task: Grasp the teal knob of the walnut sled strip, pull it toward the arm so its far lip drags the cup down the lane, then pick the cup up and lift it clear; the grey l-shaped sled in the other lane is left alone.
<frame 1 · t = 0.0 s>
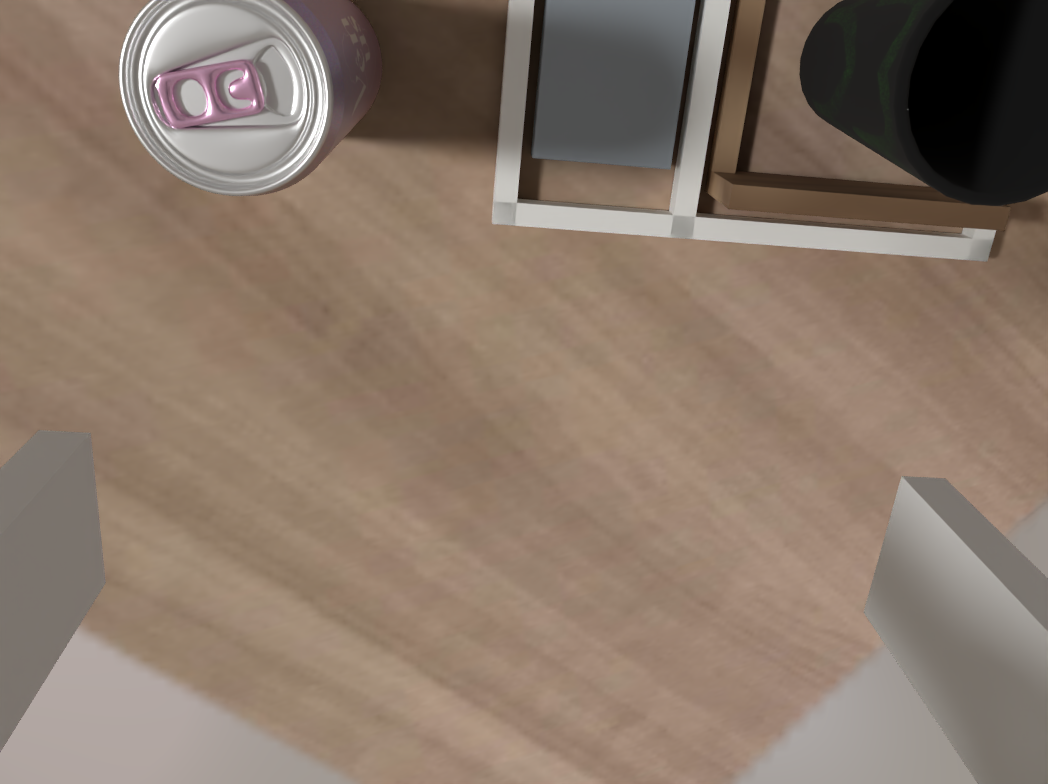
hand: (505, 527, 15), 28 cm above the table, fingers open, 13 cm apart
cup: (861, 62, 40), resting in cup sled
beverage can: (312, 61, 38), on the table
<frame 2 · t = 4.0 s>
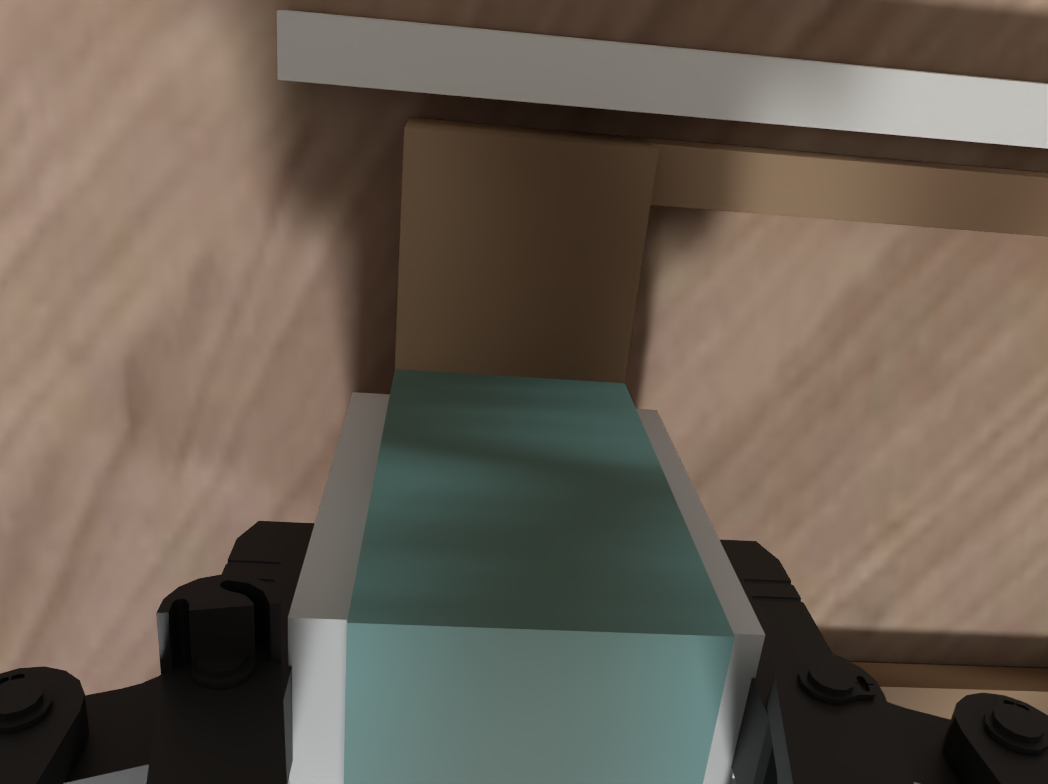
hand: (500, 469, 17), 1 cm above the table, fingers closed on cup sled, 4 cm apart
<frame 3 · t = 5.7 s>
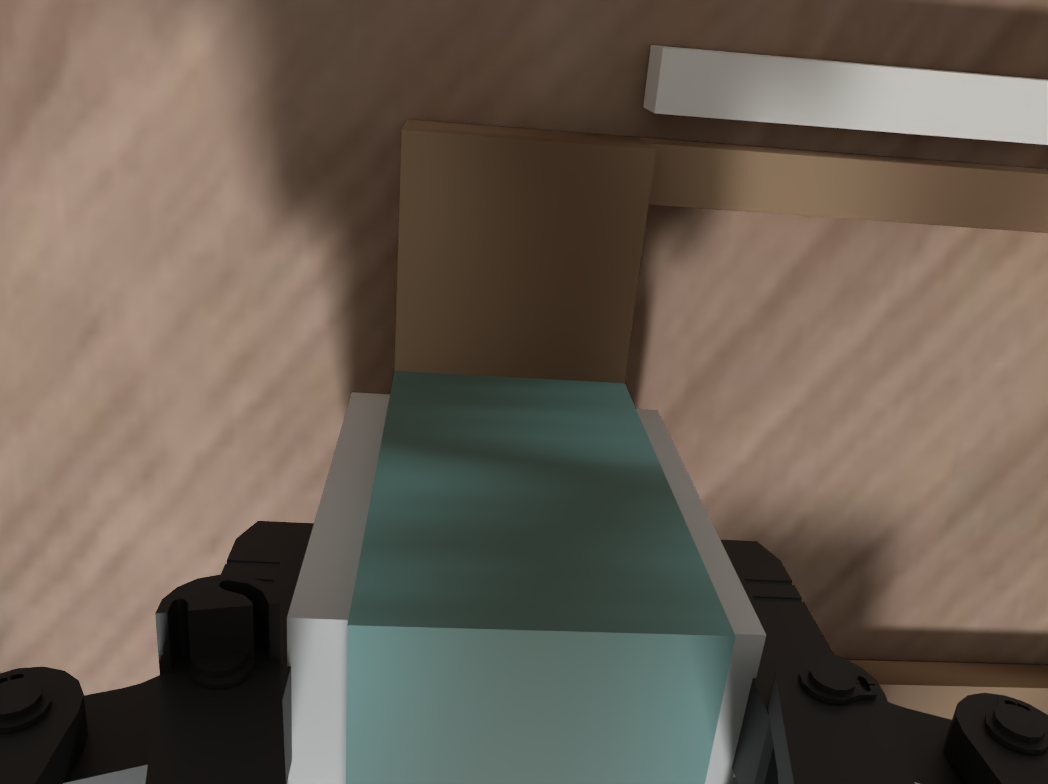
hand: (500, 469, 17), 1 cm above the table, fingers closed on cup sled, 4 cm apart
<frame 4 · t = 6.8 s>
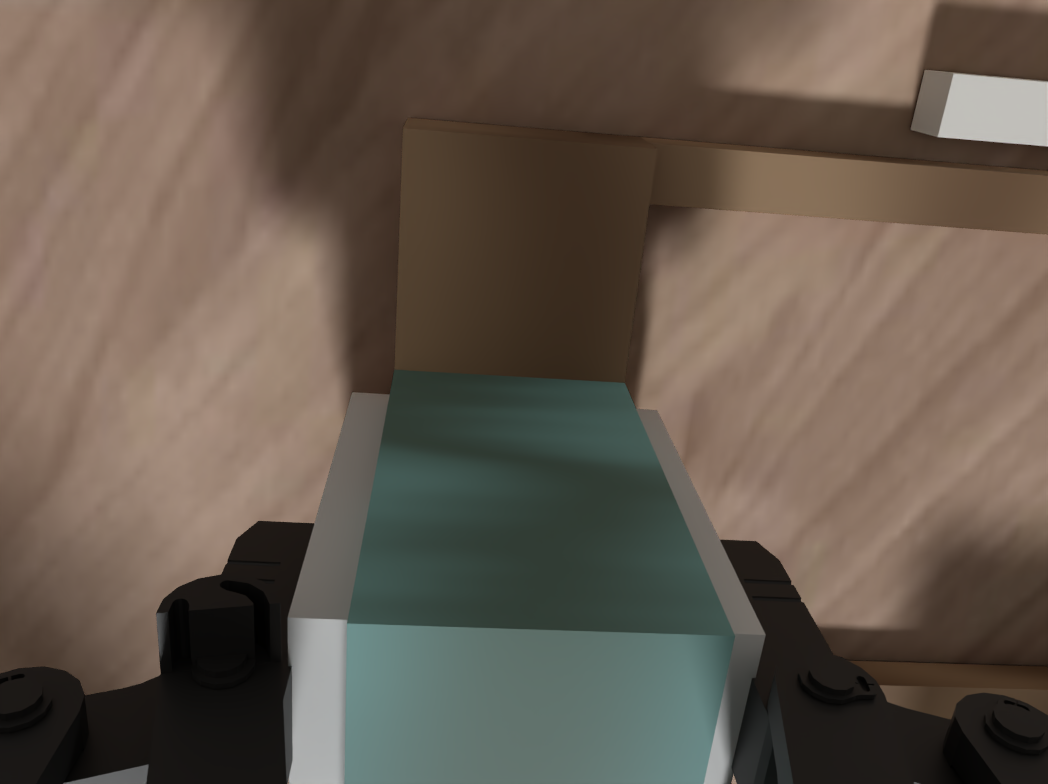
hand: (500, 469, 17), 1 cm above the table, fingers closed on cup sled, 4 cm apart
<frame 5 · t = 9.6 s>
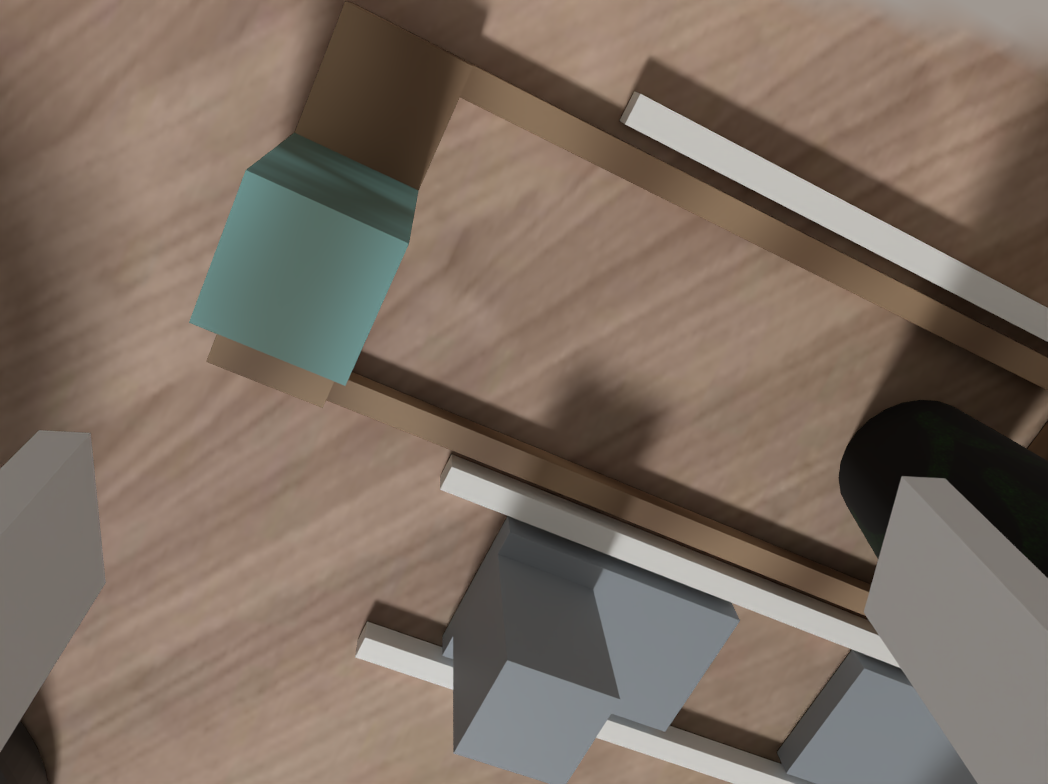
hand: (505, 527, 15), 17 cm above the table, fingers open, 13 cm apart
lane frame: (866, 558, 36), on the table
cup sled: (712, 414, 29), point 4 cm above the table, slide at 11.0 cm
cup: (907, 464, 35), resting in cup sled
grey l-shaped sled: (601, 679, 33), point 4 cm above the table, slide at 0.0 cm
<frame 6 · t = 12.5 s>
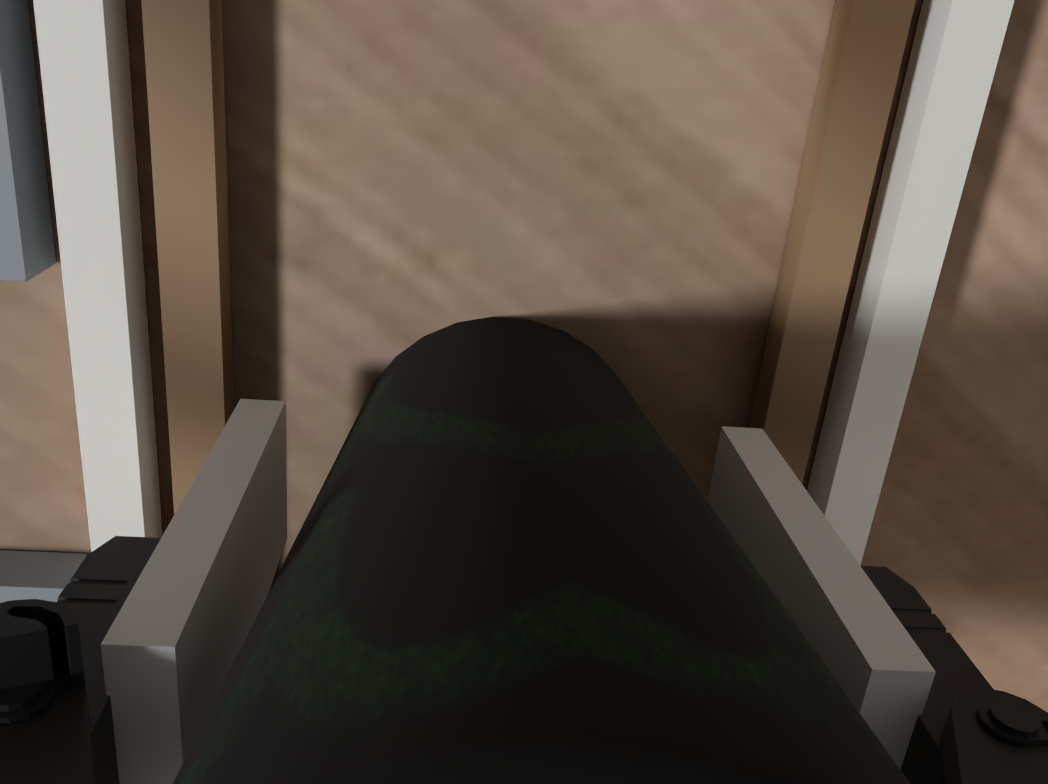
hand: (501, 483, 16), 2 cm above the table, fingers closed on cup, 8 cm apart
lane frame: (289, 475, 18), on the table
cup: (497, 446, 18), resting in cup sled, touching gripper
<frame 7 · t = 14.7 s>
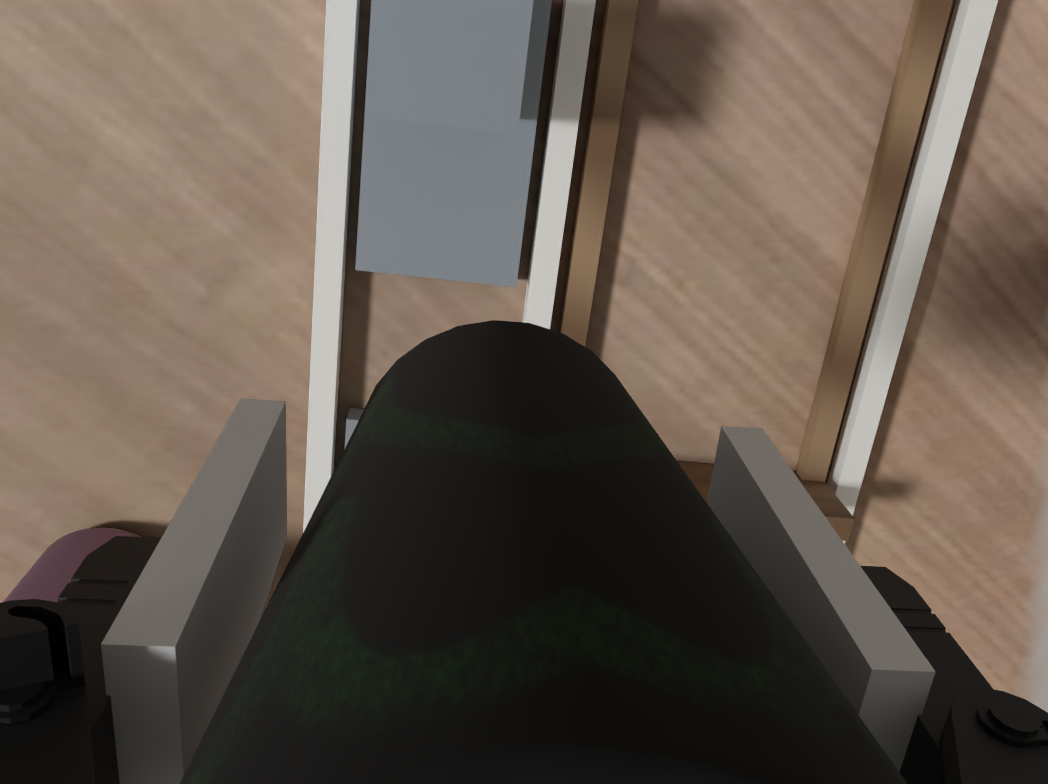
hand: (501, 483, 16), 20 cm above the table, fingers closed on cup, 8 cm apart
lane frame: (600, 385, 37), on the table
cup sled: (789, 130, 30), point 4 cm above the table, slide at 10.9 cm
cup: (498, 449, 18), point 18 cm above the table, touching gripper
grey l-shaped sled: (447, 148, 30), point 4 cm above the table, slide at 0.0 cm
beverage can: (116, 578, 39), on the table
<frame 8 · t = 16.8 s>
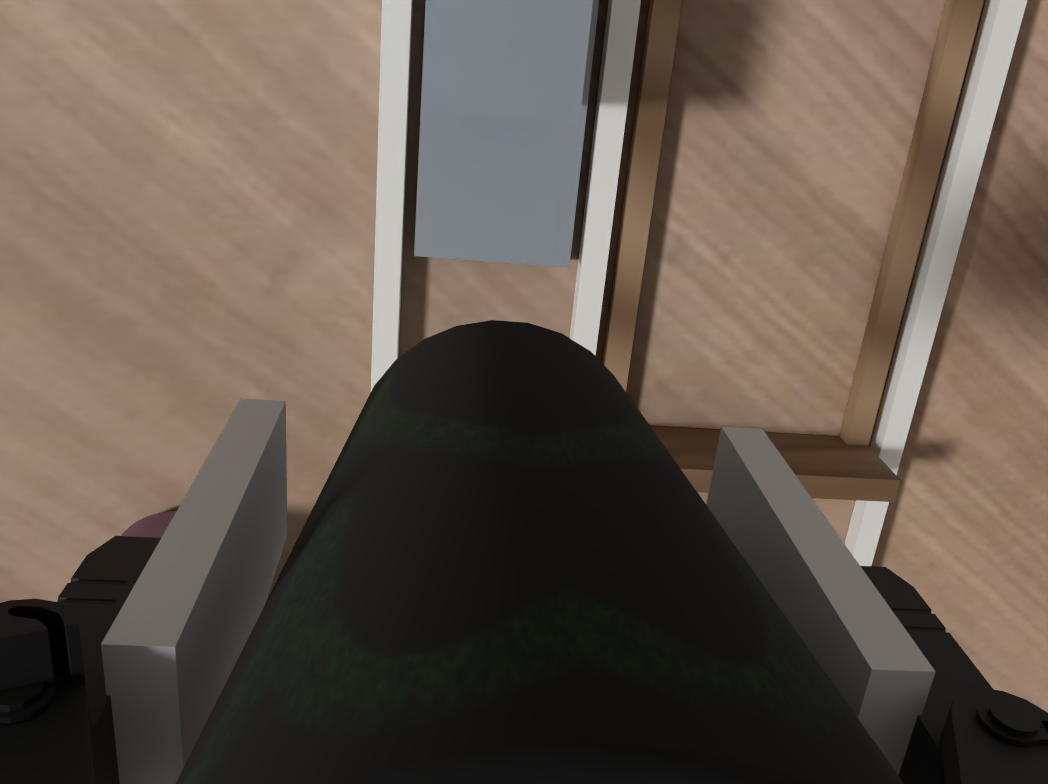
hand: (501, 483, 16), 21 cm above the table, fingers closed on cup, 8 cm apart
lane frame: (649, 359, 38), on the table
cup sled: (836, 107, 31), point 4 cm above the table, slide at 10.9 cm
cup: (497, 449, 18), point 19 cm above the table, touching gripper
grey l-shaped sled: (505, 136, 31), point 4 cm above the table, slide at 0.0 cm
beverage can: (188, 559, 41), on the table
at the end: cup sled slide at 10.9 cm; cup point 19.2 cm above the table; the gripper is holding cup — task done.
